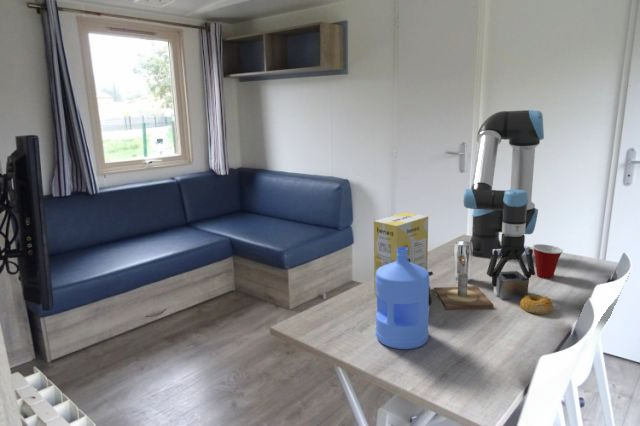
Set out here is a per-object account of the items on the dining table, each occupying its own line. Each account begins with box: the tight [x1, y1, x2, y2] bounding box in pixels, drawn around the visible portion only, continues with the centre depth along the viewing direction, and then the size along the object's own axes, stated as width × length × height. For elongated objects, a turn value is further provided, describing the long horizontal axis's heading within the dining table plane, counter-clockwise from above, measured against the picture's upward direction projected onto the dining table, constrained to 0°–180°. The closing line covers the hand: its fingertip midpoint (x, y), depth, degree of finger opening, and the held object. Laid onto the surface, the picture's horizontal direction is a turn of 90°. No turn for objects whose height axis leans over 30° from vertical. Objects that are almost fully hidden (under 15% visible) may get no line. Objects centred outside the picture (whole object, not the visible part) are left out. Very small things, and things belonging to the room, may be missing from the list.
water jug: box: [375, 247, 430, 350], centre depth 131 cm, size 16×16×28 cm
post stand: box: [433, 272, 494, 311], centre depth 157 cm, size 16×16×10 cm
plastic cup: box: [532, 243, 564, 280], centre depth 175 cm, size 11×11×12 cm
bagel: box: [519, 294, 554, 315], centre depth 149 cm, size 10×11×5 cm
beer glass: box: [453, 240, 474, 282], centre depth 175 cm, size 7×7×15 cm
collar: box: [491, 270, 530, 301], centre depth 161 cm, size 9×9×7 cm
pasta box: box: [373, 211, 429, 295], centre depth 165 cm, size 18×10×28 cm, turn 131°
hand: (509, 293), depth 161 cm, fingers closed on collar, 9 cm apart
